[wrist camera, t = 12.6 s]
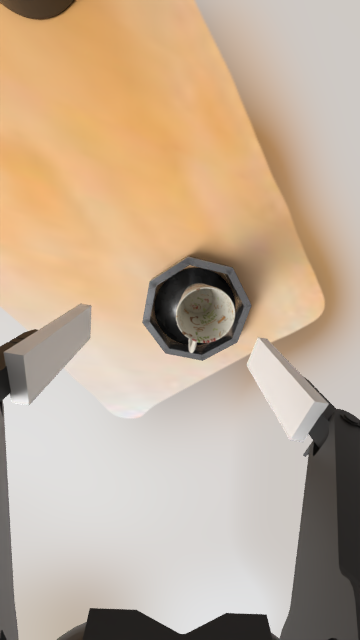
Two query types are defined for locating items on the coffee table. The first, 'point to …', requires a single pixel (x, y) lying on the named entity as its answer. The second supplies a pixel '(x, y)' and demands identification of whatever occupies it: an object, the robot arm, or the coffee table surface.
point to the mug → (204, 314)
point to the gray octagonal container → (171, 297)
